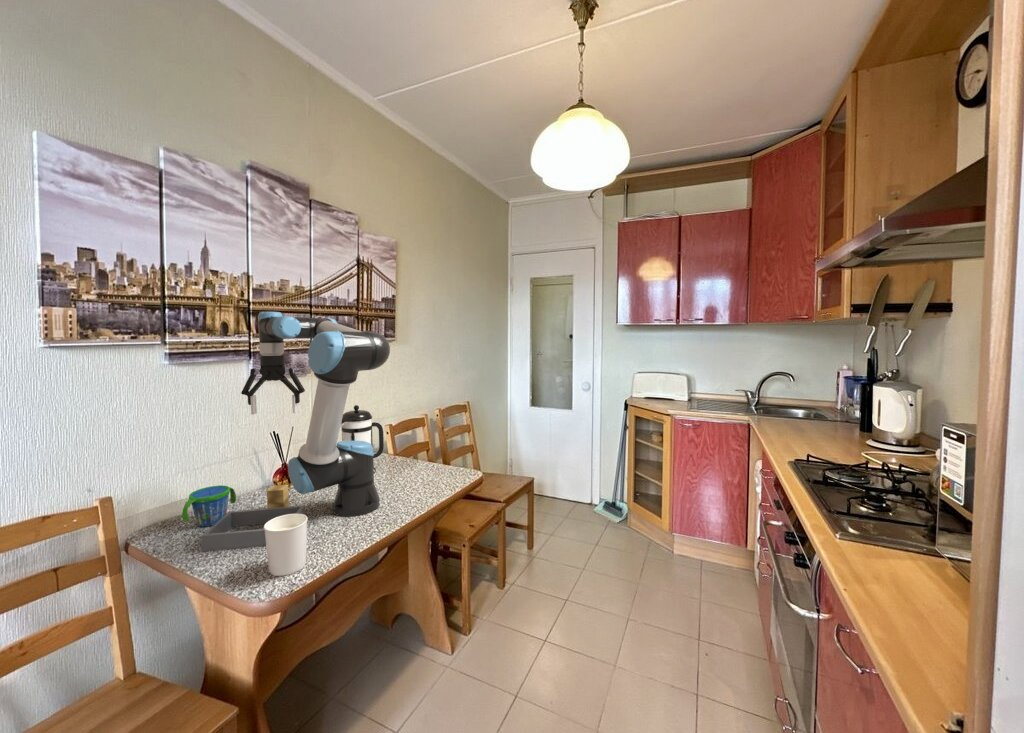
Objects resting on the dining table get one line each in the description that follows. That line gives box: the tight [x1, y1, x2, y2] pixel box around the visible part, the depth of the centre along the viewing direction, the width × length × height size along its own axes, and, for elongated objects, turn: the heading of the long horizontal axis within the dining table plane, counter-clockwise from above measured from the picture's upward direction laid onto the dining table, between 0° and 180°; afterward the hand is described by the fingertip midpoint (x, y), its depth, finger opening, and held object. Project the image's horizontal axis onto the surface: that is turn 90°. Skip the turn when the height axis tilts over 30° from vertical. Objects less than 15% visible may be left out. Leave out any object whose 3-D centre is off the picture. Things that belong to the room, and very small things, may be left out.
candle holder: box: [263, 514, 309, 577], centre depth 103 cm, size 10×10×12 cm
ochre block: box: [266, 484, 290, 508], centre depth 137 cm, size 5×5×8 cm
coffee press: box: [340, 404, 385, 473], centre depth 176 cm, size 17×16×30 cm
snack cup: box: [181, 484, 237, 527], centre depth 128 cm, size 16×10×10 cm
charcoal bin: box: [200, 504, 306, 552], centre depth 121 cm, size 22×16×4 cm
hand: (274, 413), depth 146 cm, fingers open, 13 cm apart
